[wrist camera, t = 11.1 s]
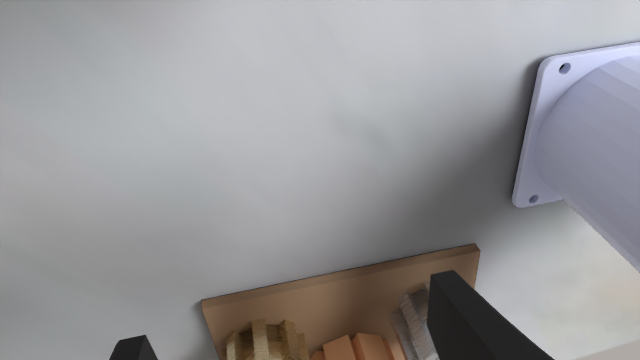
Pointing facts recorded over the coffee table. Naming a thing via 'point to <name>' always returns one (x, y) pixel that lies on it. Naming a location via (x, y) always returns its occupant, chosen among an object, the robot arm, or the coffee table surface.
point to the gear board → (337, 300)
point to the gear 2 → (414, 325)
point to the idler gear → (356, 349)
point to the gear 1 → (267, 343)
